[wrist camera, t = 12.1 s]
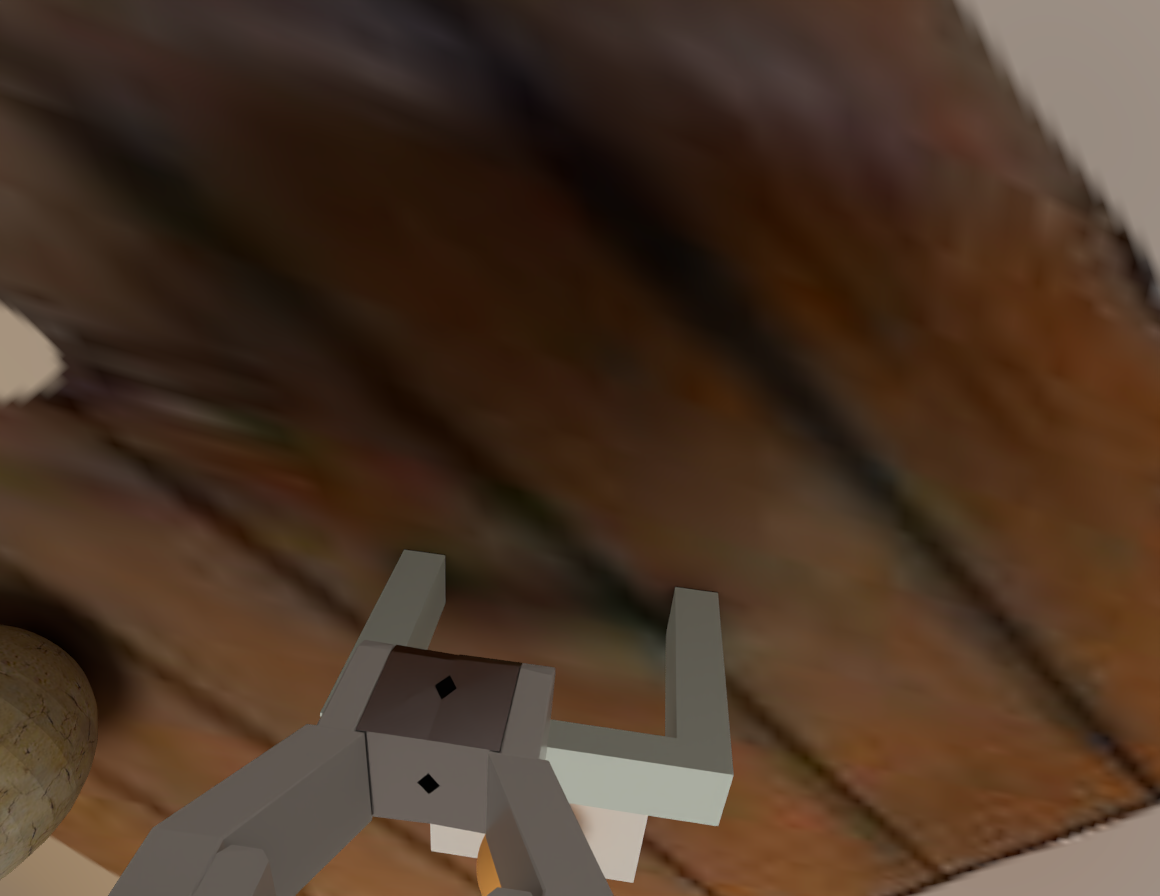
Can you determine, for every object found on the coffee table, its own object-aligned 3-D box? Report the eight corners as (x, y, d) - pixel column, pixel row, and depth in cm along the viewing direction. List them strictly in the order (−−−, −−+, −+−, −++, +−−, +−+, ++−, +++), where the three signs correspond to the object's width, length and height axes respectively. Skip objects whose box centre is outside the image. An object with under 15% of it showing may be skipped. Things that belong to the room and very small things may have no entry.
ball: (490, 811, 46) (485, 786, 41) (585, 825, 45) (591, 801, 41) (470, 923, 42) (462, 911, 37) (573, 939, 42) (578, 929, 37)
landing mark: (428, 709, 40) (427, 712, 40) (662, 744, 40) (662, 747, 40) (431, 847, 47) (431, 850, 47) (633, 879, 46) (633, 882, 46)
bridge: (404, 549, 35) (320, 712, 27) (717, 592, 34) (733, 775, 26) (406, 597, 36) (327, 766, 28) (706, 639, 36) (718, 826, 27)
